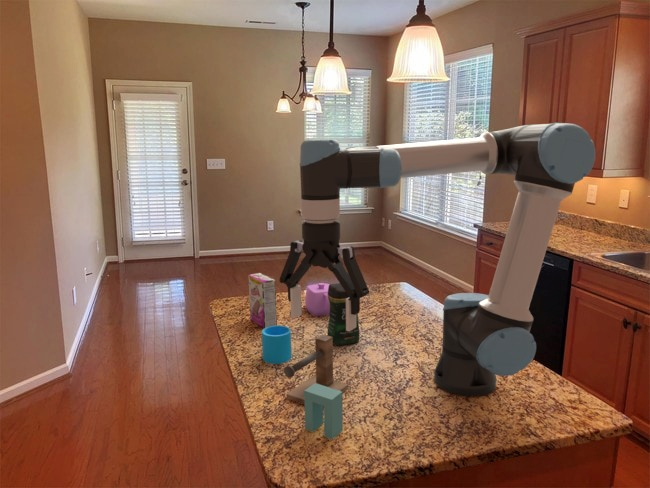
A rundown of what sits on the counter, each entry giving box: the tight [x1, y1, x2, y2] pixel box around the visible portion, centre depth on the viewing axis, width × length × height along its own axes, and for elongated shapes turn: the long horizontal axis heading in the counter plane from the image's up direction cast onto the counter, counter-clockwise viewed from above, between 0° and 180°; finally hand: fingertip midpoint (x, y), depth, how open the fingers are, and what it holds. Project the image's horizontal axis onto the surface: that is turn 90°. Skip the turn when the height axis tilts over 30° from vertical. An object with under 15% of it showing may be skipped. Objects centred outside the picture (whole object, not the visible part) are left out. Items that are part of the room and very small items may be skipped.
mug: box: [261, 325, 292, 365], centre depth 144 cm, size 12×8×8 cm
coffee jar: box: [327, 282, 361, 346], centre depth 152 cm, size 10×8×19 cm
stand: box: [283, 334, 349, 409], centre depth 119 cm, size 10×17×14 cm, turn 146°
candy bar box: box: [247, 272, 278, 329], centre depth 168 cm, size 11×5×16 cm, turn 34°
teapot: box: [304, 282, 330, 317], centre depth 182 cm, size 18×10×10 cm, turn 19°
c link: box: [304, 383, 344, 440], centre depth 107 cm, size 7×4×9 cm, turn 56°
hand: (322, 322), depth 103 cm, fingers open, 13 cm apart
